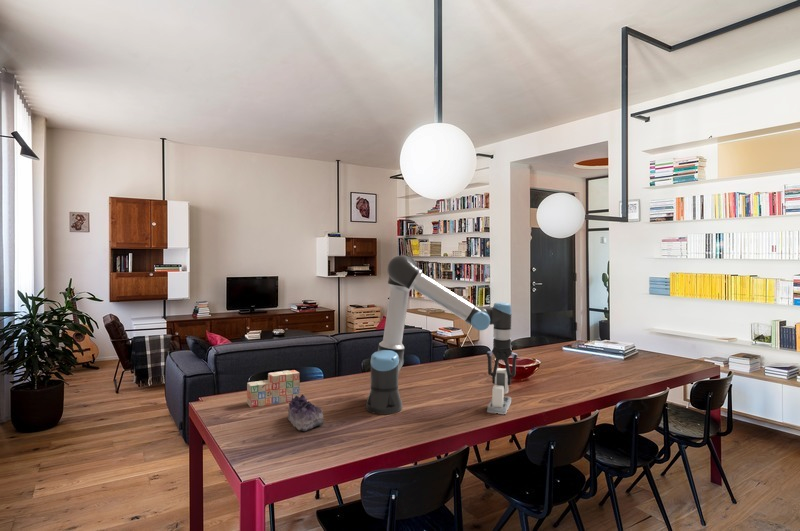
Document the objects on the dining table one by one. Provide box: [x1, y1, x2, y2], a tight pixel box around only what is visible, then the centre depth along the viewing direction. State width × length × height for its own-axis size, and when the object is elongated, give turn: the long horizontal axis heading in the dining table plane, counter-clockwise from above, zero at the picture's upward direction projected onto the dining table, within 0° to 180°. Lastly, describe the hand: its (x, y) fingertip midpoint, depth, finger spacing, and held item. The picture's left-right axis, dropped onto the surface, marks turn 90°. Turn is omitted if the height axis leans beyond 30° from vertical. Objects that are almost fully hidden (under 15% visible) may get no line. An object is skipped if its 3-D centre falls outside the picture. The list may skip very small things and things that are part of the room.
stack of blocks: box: [246, 369, 301, 408], centre depth 205 cm, size 21×6×12 cm, turn 122°
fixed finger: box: [491, 384, 505, 408], centre depth 198 cm, size 4×5×10 cm
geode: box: [287, 394, 324, 432], centre depth 181 cm, size 20×12×10 cm, turn 35°
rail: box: [486, 396, 512, 415], centre depth 202 cm, size 18×8×2 cm, turn 159°
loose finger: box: [496, 367, 508, 395], centre depth 205 cm, size 4×5×10 cm
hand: (501, 391), depth 205 cm, fingers closed on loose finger, 4 cm apart
